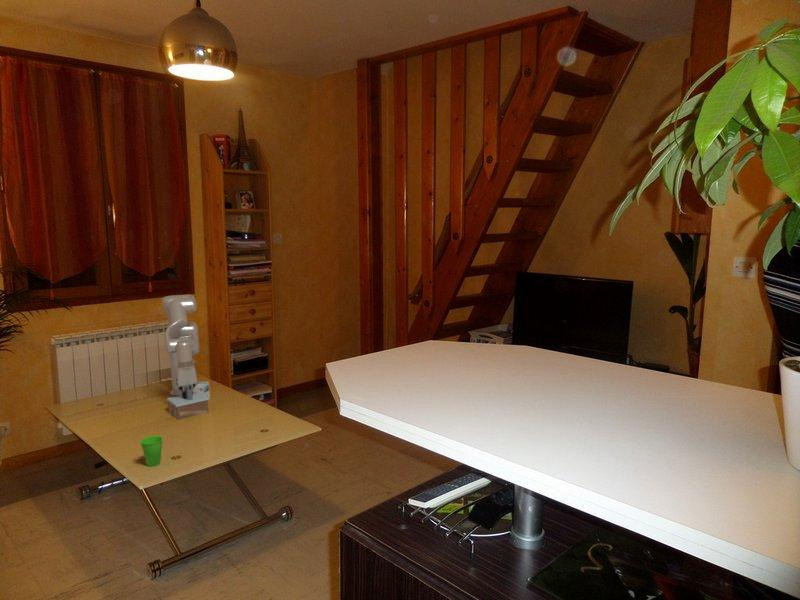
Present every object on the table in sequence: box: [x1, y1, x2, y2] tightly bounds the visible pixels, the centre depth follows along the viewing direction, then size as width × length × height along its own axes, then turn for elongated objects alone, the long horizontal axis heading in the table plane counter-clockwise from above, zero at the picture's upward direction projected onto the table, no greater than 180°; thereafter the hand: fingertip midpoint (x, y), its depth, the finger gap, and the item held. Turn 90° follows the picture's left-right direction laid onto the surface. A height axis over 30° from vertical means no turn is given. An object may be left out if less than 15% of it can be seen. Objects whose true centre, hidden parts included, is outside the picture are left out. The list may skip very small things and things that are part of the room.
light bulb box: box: [186, 381, 211, 399], centre depth 314 cm, size 11×7×11 cm, turn 84°
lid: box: [166, 387, 210, 407], centre depth 292 cm, size 15×17×7 cm
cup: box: [139, 435, 164, 468], centre depth 233 cm, size 9×9×11 cm
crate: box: [167, 400, 210, 421], centre depth 293 cm, size 14×16×8 cm
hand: (187, 397), depth 292 cm, fingers closed on lid, 2 cm apart
